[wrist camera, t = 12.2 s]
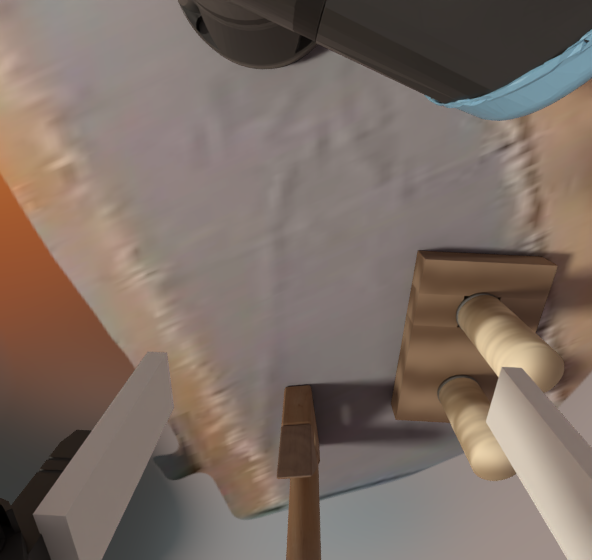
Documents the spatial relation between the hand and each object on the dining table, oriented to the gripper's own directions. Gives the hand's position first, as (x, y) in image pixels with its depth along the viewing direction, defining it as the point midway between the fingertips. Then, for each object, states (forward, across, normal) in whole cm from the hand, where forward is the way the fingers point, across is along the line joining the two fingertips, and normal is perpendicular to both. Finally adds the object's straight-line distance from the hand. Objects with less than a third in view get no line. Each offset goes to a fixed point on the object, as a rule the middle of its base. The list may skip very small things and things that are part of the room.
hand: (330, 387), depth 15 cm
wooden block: (+29, -1, -28) cm, 40 cm away
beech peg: (+28, +19, -9) cm, 35 cm away
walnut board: (+29, +19, -14) cm, 37 cm away
